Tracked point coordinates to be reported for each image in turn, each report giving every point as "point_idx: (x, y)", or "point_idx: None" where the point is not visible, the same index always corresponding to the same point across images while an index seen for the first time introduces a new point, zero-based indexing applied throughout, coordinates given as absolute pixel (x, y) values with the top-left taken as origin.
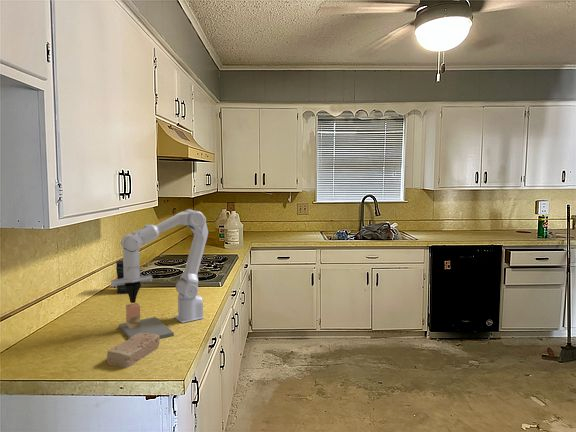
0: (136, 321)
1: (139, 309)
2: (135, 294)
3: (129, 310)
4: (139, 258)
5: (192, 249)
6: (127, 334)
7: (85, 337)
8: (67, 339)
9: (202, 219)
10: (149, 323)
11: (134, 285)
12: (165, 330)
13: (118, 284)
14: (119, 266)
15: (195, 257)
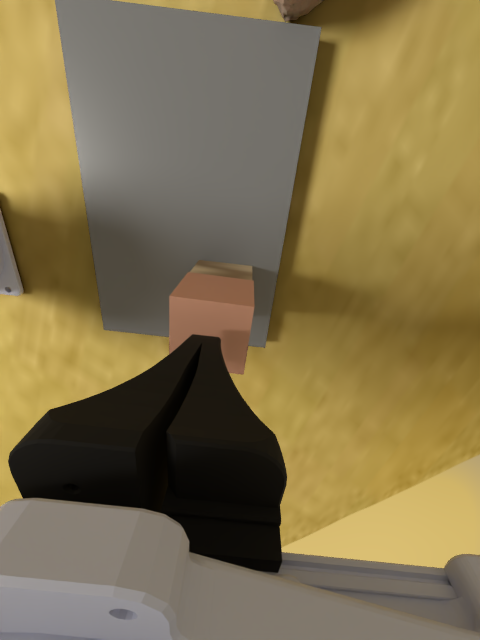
0: (213, 270)
1: (180, 286)
2: (171, 366)
3: (249, 297)
4: None
5: None
6: (290, 197)
7: (413, 320)
8: (466, 343)
9: None
10: (150, 266)
11: (141, 458)
12: (97, 85)
13: (390, 582)
14: None
15: None
